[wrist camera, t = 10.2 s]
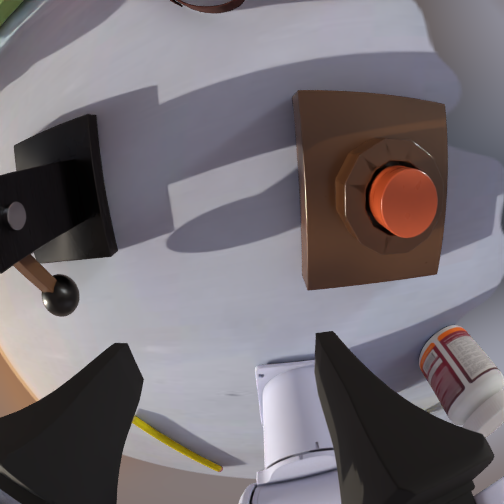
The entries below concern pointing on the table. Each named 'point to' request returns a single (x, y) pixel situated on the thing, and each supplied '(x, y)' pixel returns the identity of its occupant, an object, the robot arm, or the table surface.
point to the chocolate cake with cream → (229, 6)
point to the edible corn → (8, 8)
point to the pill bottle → (464, 380)
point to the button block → (364, 184)
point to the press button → (403, 200)
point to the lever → (51, 286)
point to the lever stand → (56, 198)
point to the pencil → (175, 445)
